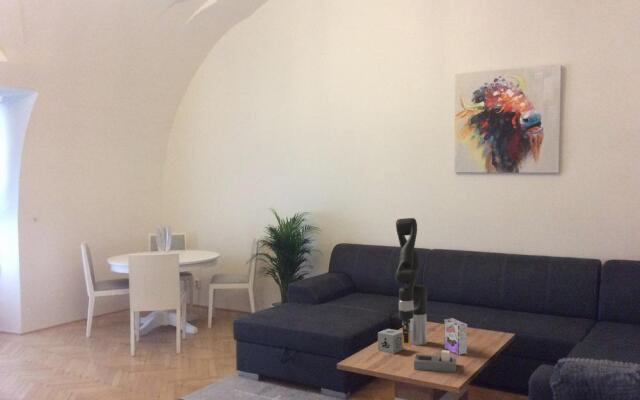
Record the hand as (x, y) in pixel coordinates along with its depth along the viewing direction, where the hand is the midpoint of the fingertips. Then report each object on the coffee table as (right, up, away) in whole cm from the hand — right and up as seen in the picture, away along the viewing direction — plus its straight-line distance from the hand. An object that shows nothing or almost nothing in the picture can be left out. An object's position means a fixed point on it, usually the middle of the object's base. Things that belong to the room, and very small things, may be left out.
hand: (406, 341), depth 297 cm
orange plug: (0, -2, 0) cm, 2 cm away
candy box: (+29, -10, +17) cm, 35 cm away
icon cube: (-6, -10, +21) cm, 24 cm away
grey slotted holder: (+13, -11, -7) cm, 19 cm away
